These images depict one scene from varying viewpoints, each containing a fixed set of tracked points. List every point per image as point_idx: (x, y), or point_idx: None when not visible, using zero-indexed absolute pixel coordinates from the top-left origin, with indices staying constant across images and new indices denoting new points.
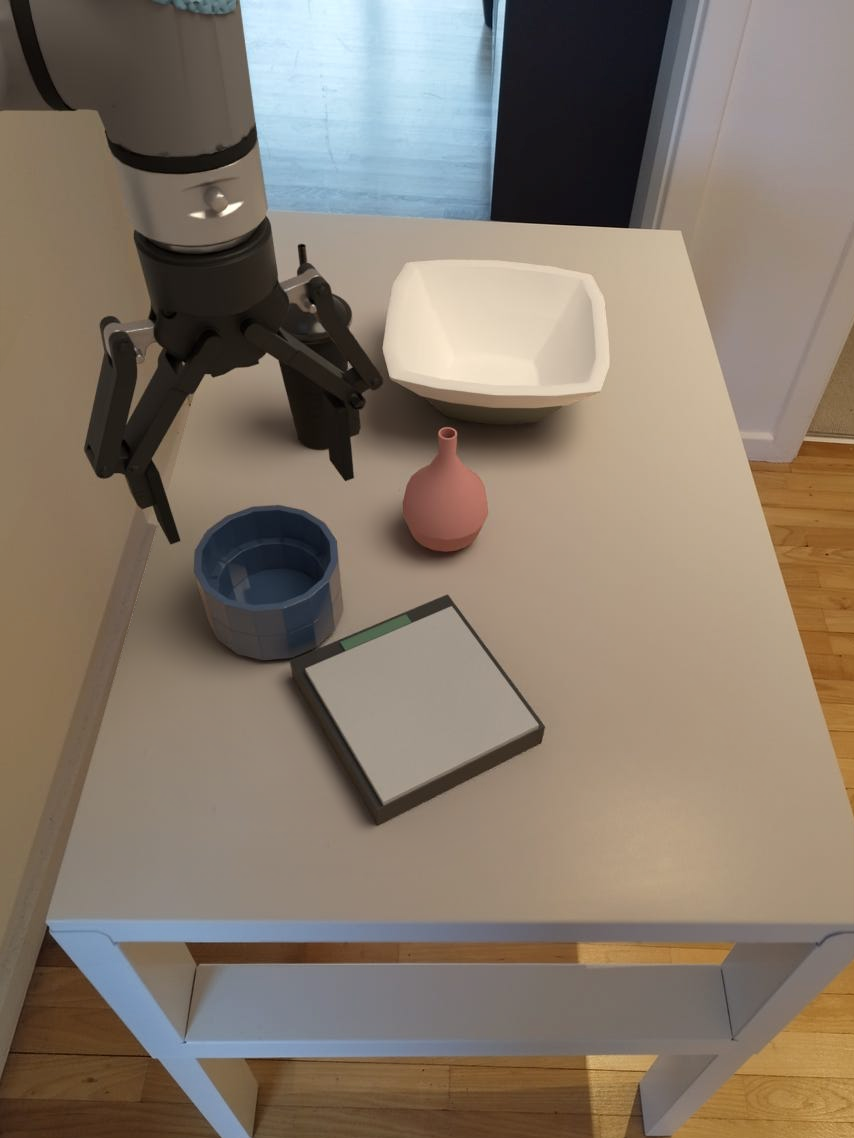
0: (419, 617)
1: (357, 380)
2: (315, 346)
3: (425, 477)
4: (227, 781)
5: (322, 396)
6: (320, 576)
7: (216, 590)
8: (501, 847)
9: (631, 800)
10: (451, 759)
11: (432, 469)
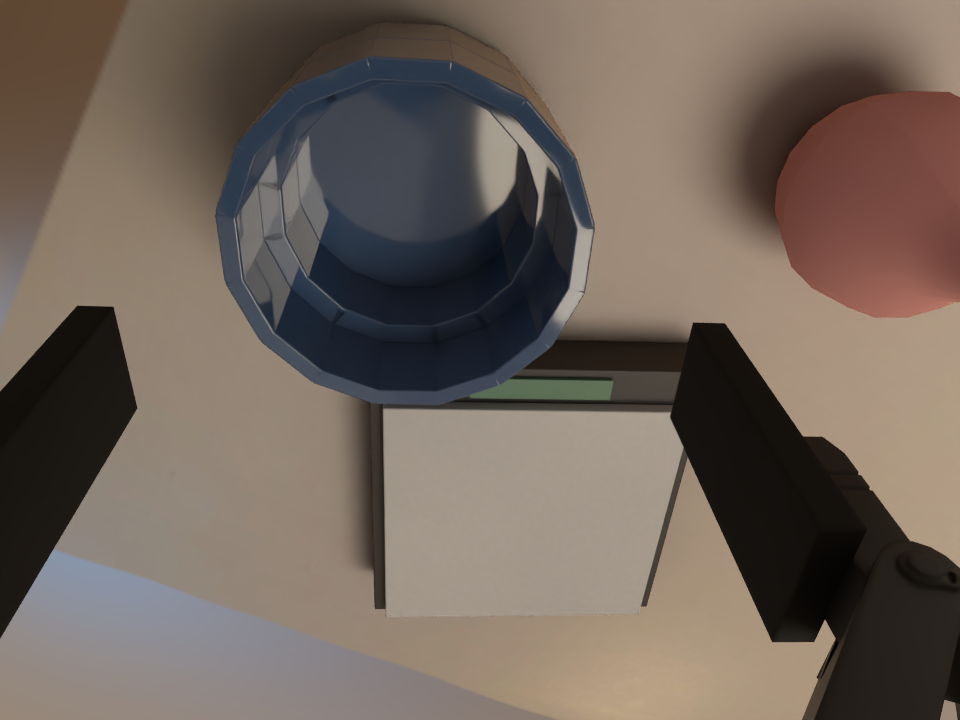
0: (630, 392)
1: (948, 699)
2: None
3: (912, 232)
4: (203, 446)
5: (805, 510)
6: (528, 201)
7: (280, 177)
8: (497, 639)
9: (664, 654)
10: (502, 608)
11: (941, 257)
